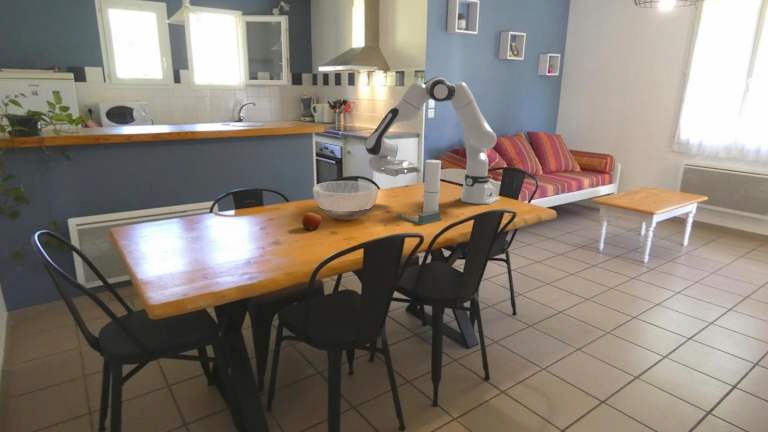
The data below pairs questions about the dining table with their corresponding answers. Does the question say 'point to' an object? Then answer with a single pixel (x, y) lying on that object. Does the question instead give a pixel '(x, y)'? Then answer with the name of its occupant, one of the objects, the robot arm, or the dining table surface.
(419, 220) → the deck plate
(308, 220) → the fruit
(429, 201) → the cylindrical container
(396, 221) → the dining table surface
